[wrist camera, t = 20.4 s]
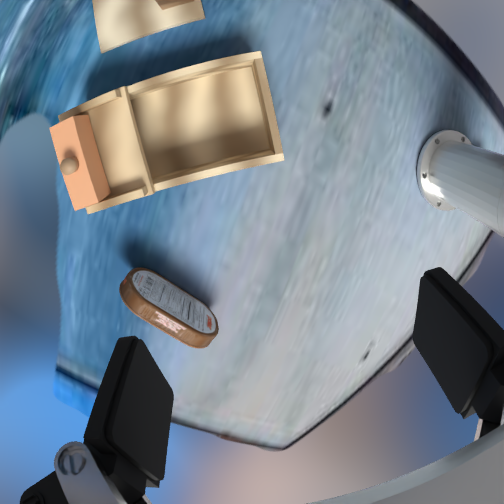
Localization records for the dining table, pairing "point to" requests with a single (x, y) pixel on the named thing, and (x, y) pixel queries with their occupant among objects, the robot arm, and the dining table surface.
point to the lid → (140, 18)
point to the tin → (168, 307)
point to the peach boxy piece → (80, 161)
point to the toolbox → (183, 127)
